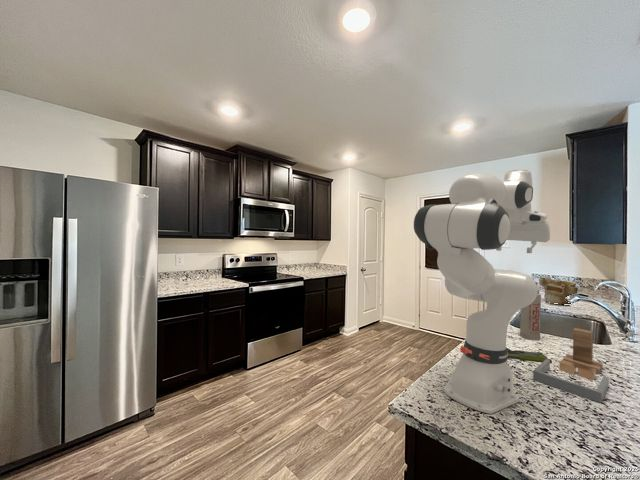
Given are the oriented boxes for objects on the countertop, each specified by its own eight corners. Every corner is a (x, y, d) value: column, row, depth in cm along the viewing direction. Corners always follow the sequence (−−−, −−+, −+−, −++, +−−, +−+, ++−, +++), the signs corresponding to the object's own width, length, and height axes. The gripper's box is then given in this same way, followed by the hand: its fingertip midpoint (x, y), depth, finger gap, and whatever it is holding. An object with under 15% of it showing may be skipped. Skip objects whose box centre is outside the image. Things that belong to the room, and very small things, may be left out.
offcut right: (593, 380, 92) (593, 372, 92) (577, 375, 95) (577, 367, 95) (595, 377, 95) (595, 369, 95) (580, 372, 98) (580, 364, 98)
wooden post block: (599, 374, 97) (600, 336, 97) (562, 363, 105) (563, 328, 105) (602, 368, 101) (603, 332, 101) (567, 358, 109) (568, 324, 109)
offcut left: (573, 374, 96) (574, 366, 96) (559, 370, 99) (559, 362, 99) (576, 371, 99) (576, 363, 99) (562, 367, 102) (562, 359, 102)
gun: (531, 350, 119) (554, 366, 104) (485, 345, 123) (500, 360, 108) (532, 344, 119) (554, 360, 104) (485, 339, 123) (500, 354, 108)
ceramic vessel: (593, 295, 202) (581, 270, 197) (576, 317, 197) (564, 292, 191) (558, 289, 224) (546, 266, 218) (542, 308, 218) (530, 286, 212)
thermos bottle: (542, 341, 128) (544, 283, 128) (523, 338, 131) (524, 282, 131) (536, 335, 135) (537, 281, 135) (517, 333, 138) (518, 280, 138)
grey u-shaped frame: (601, 403, 79) (601, 393, 79) (533, 379, 92) (533, 370, 92) (608, 386, 88) (608, 377, 88) (545, 366, 102) (545, 359, 102)
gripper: (481, 216, 102) (480, 250, 105) (551, 216, 88) (547, 256, 91) (485, 214, 107) (484, 247, 109) (552, 214, 93) (549, 252, 95)
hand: (513, 251), depth 100 cm, fingers open, 8 cm apart
